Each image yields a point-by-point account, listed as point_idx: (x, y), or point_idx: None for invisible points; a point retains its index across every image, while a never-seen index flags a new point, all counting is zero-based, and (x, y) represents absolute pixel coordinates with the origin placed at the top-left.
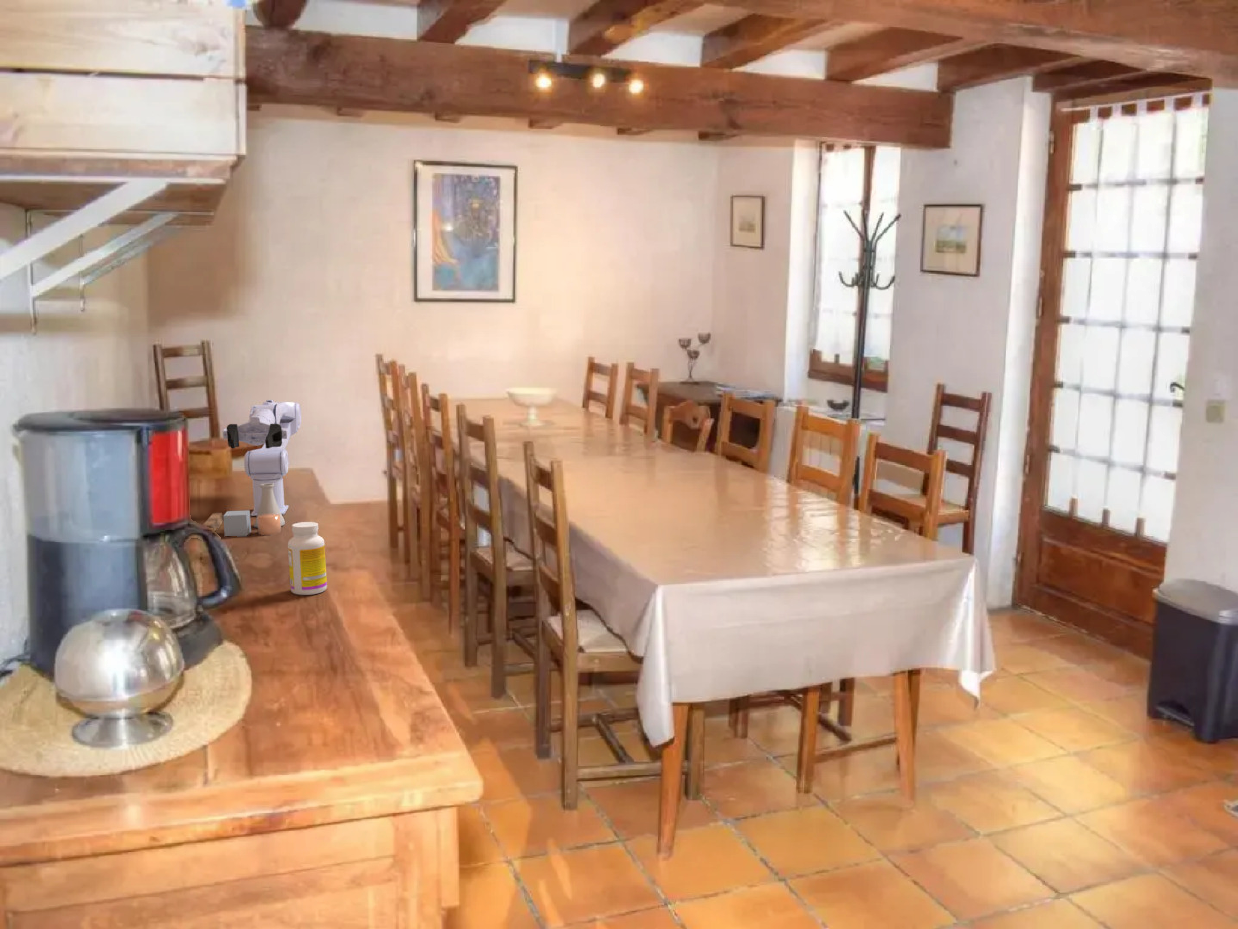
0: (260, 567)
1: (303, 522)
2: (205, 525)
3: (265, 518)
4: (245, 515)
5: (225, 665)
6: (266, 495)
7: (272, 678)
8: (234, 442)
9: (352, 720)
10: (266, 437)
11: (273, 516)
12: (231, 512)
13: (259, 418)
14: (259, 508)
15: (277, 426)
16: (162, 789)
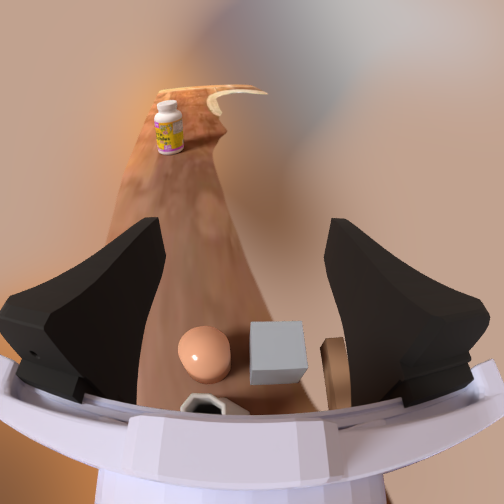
0: (208, 192)
1: (166, 104)
2: (337, 341)
3: (208, 326)
4: (252, 322)
5: (217, 107)
6: (209, 403)
7: (199, 103)
8: (333, 249)
9: (178, 95)
10: (145, 225)
11: (192, 340)
12: (293, 352)
13: (129, 431)
14: (234, 411)
15: (23, 294)
16: (224, 87)
